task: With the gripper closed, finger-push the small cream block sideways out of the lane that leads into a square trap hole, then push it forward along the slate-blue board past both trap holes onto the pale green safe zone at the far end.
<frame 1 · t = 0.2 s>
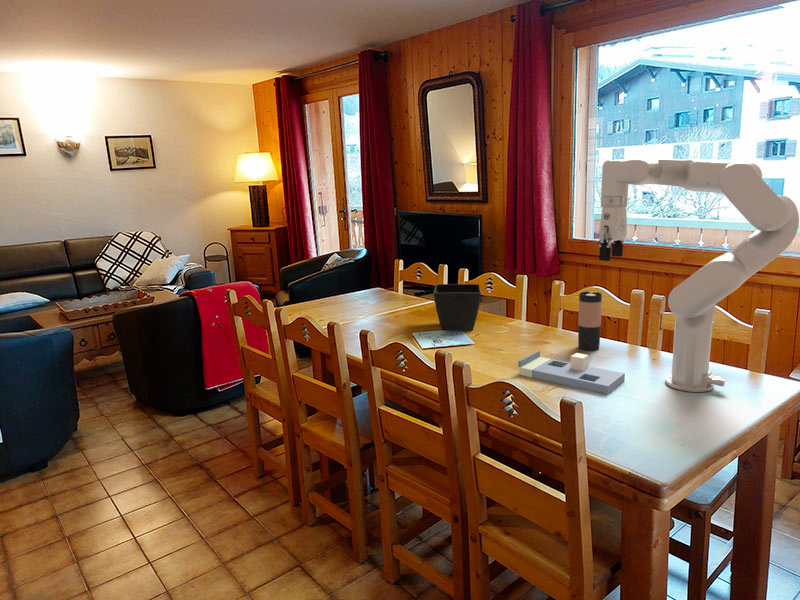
hand: (610, 258, 174), 36 cm above the table, tool pointing down, fingers open, 9 cm apart
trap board: (571, 377, 175), on the table
cream block: (579, 367, 177), point 2 cm above the table, touching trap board
travel mug: (588, 348, 204), on the table
flower pot: (458, 327, 239), on the table
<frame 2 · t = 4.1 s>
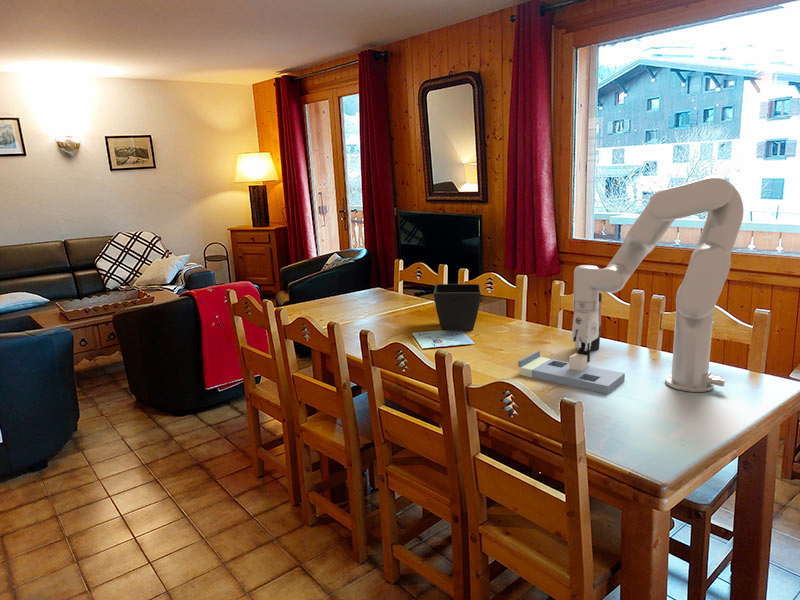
hand: (583, 361, 179), 4 cm above the table, tool pointing down, fingers closed
cream block: (578, 368, 176), point 3 cm above the table, touching gripper
everything else where it was.
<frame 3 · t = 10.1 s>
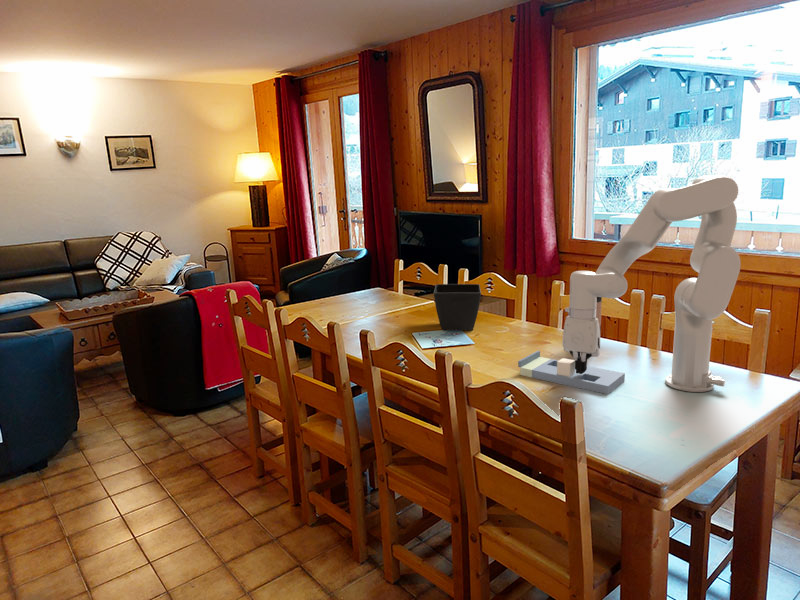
hand: (580, 372, 170), 3 cm above the table, tool pointing down, fingers closed
cream block: (565, 373, 172), point 3 cm above the table, touching gripper
everything else where it was.
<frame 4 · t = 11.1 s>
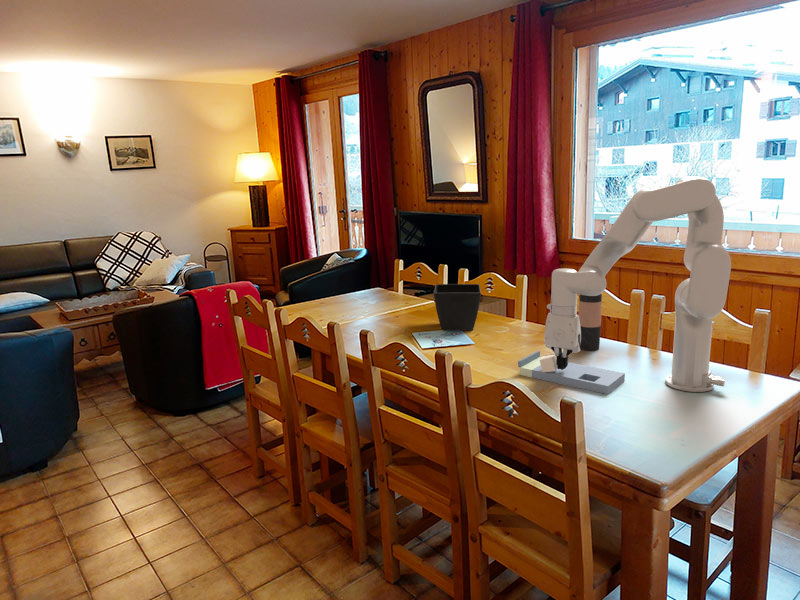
hand: (561, 368, 174), 4 cm above the table, tool pointing down, fingers closed
cream block: (550, 369, 175), point 3 cm above the table, tilted 14°, touching gripper, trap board
everything else where it was.
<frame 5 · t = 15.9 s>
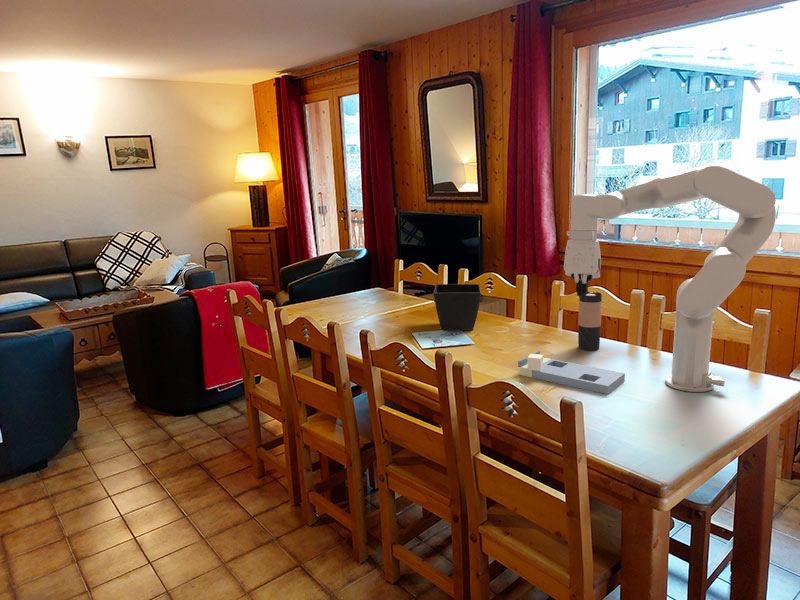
hand: (581, 295, 174), 25 cm above the table, tool pointing down, fingers closed
cream block: (535, 368, 178), point 2 cm above the table, touching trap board
everything else where it was.
at the end: cream block inside the target area (1.9 cm from its centre), point 2.5 cm above the table; cream block tilted 0° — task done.
